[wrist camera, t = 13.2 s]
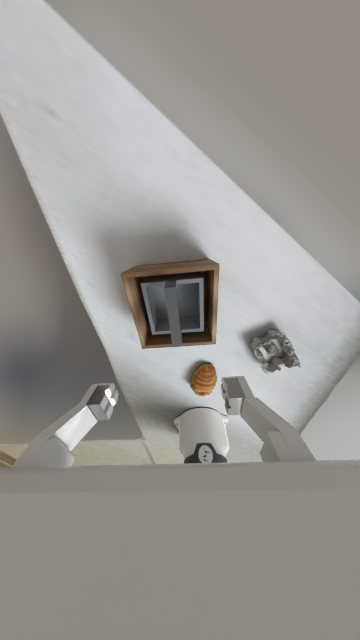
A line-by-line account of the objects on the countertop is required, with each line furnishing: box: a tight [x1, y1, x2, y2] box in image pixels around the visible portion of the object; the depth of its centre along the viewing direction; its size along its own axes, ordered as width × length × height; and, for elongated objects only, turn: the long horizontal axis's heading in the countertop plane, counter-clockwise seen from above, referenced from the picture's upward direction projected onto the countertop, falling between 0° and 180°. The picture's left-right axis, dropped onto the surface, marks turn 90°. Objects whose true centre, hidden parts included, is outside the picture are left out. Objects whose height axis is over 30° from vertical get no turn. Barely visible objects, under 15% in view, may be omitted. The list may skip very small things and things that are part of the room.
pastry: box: [190, 364, 217, 396], centre depth 36 cm, size 9×7×4 cm
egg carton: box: [249, 329, 300, 374], centre depth 31 cm, size 11×8×4 cm
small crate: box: [141, 272, 204, 347], centre depth 22 cm, size 9×9×9 cm
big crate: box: [121, 259, 219, 349], centre depth 23 cm, size 13×13×7 cm
